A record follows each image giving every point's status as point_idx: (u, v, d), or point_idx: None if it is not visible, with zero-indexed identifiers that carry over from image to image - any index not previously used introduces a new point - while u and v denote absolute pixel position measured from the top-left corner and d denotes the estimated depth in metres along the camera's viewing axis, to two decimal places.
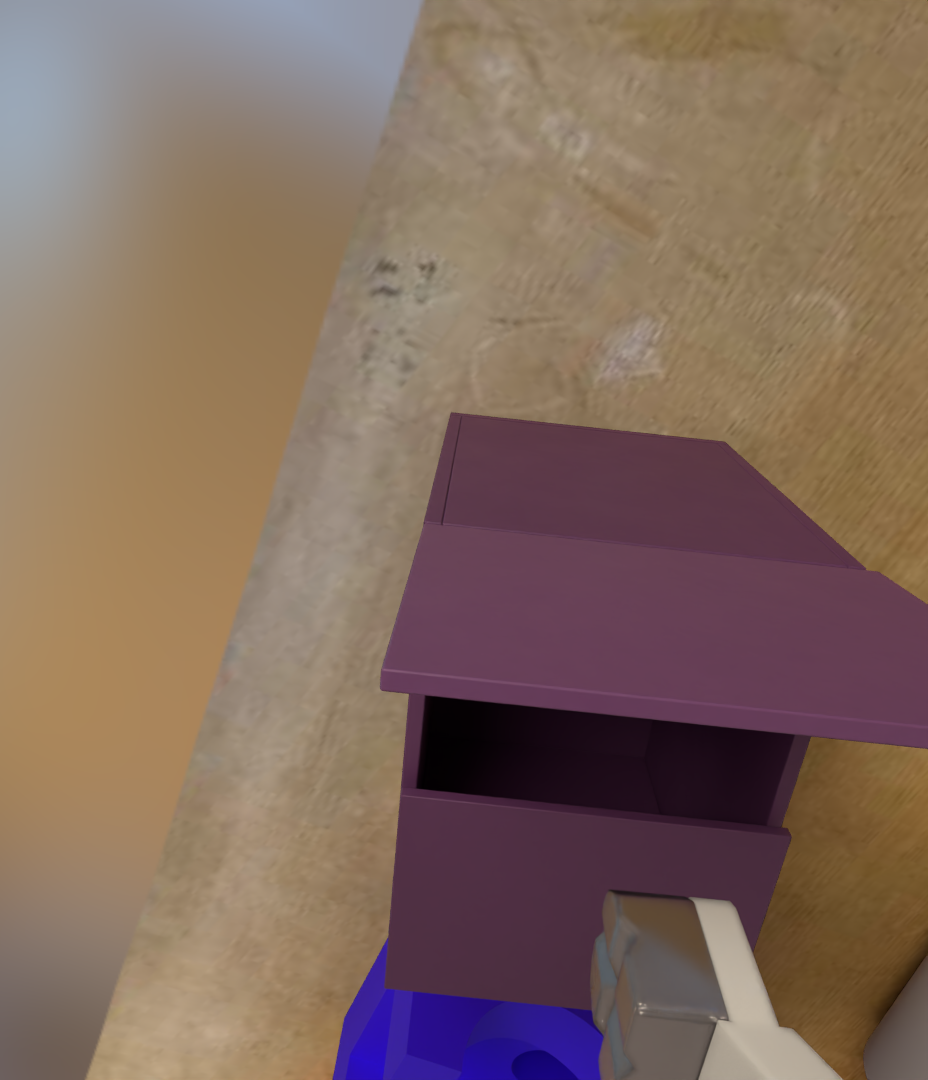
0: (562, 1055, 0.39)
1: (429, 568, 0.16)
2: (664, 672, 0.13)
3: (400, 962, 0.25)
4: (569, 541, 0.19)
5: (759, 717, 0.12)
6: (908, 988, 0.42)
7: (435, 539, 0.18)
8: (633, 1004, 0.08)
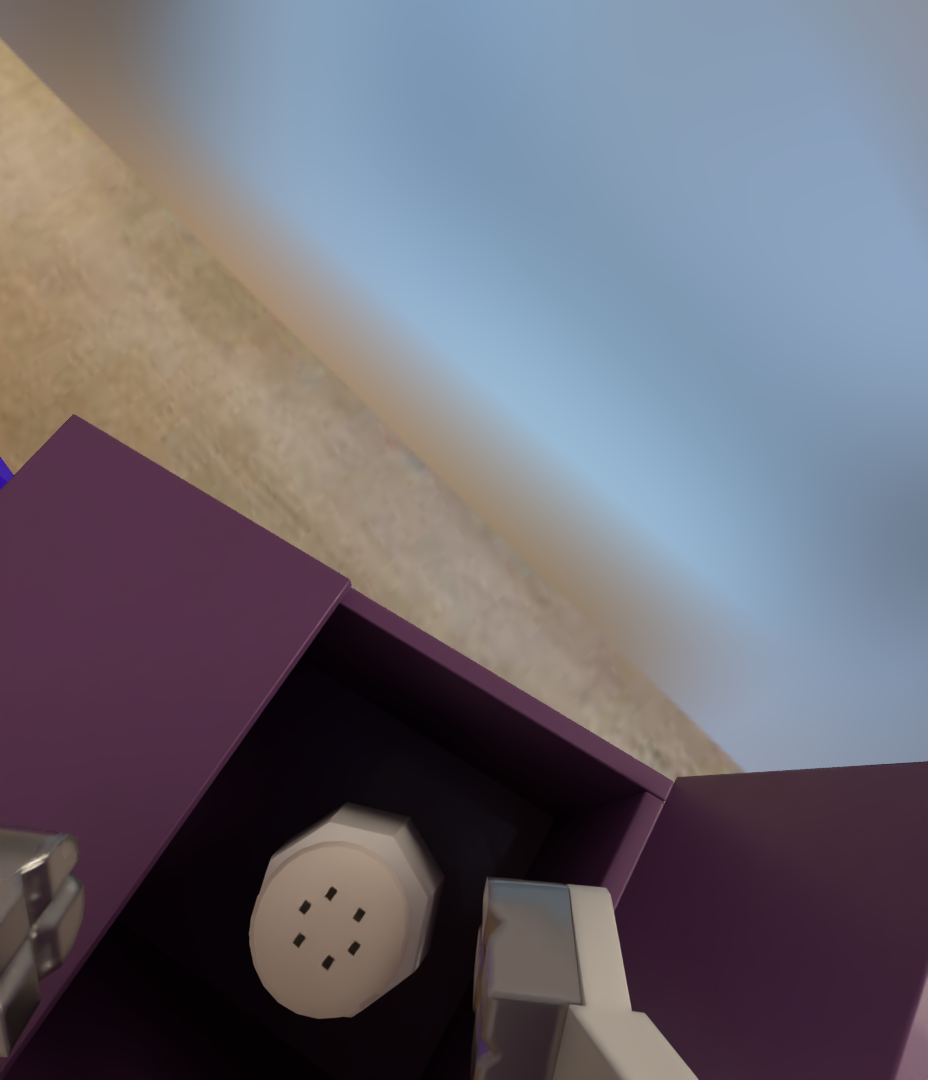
0: None
1: None
2: None
3: (102, 452, 0.19)
4: None
5: None
6: None
7: None
8: (487, 988, 0.08)
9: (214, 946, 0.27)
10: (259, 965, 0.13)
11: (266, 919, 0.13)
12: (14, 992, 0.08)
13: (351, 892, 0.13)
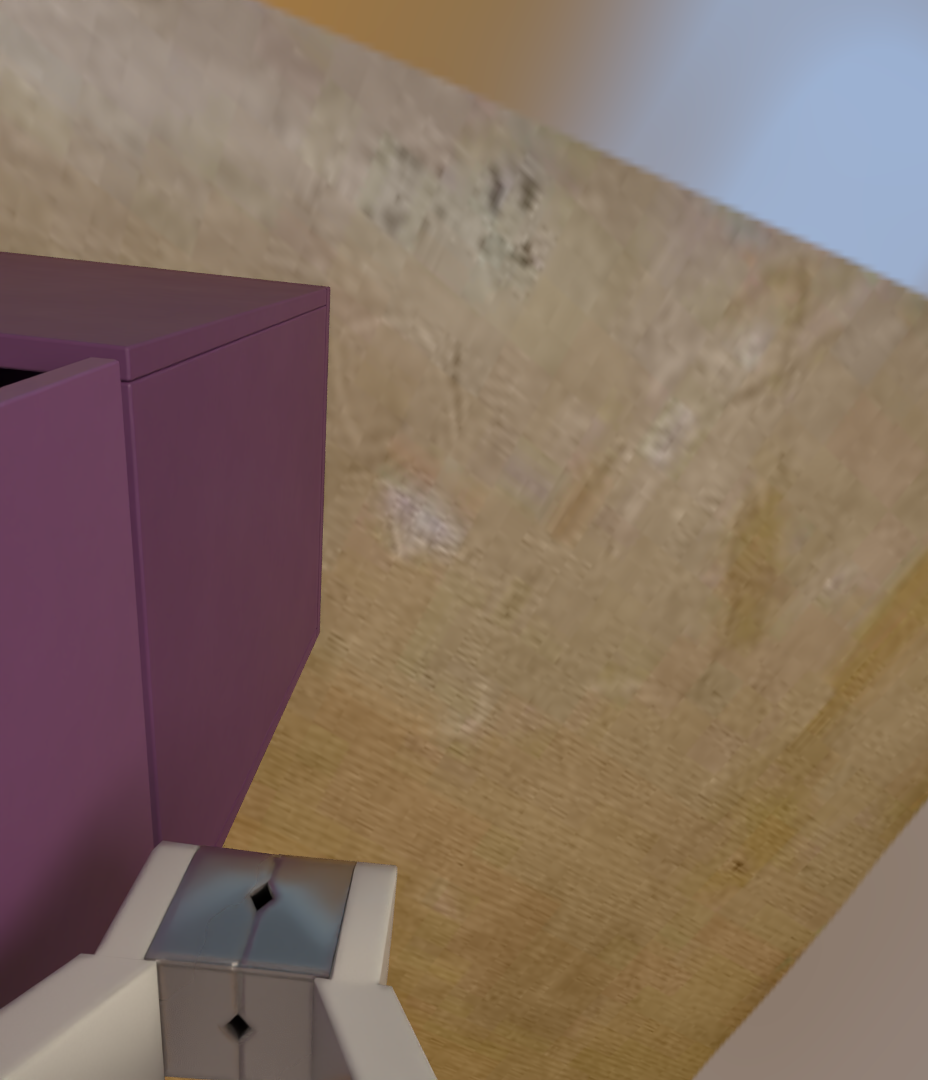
0: None
1: None
2: None
3: None
4: (130, 624, 0.11)
5: None
6: None
7: (73, 411, 0.09)
8: (237, 963, 0.08)
9: None
10: None
11: None
12: None
13: None
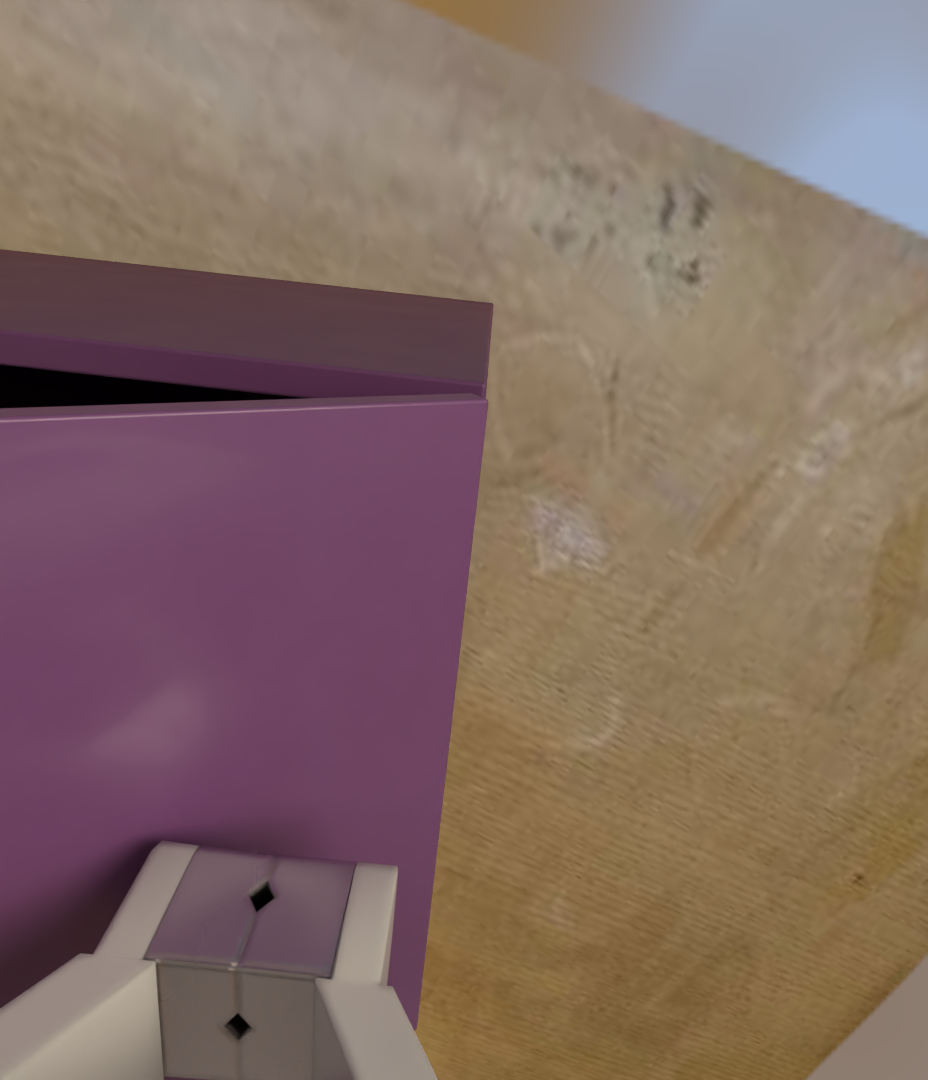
0: None
1: (215, 447, 0.08)
2: None
3: None
4: (444, 657, 0.11)
5: None
6: None
7: (395, 434, 0.09)
8: (239, 962, 0.08)
9: None
10: None
11: None
12: None
13: None
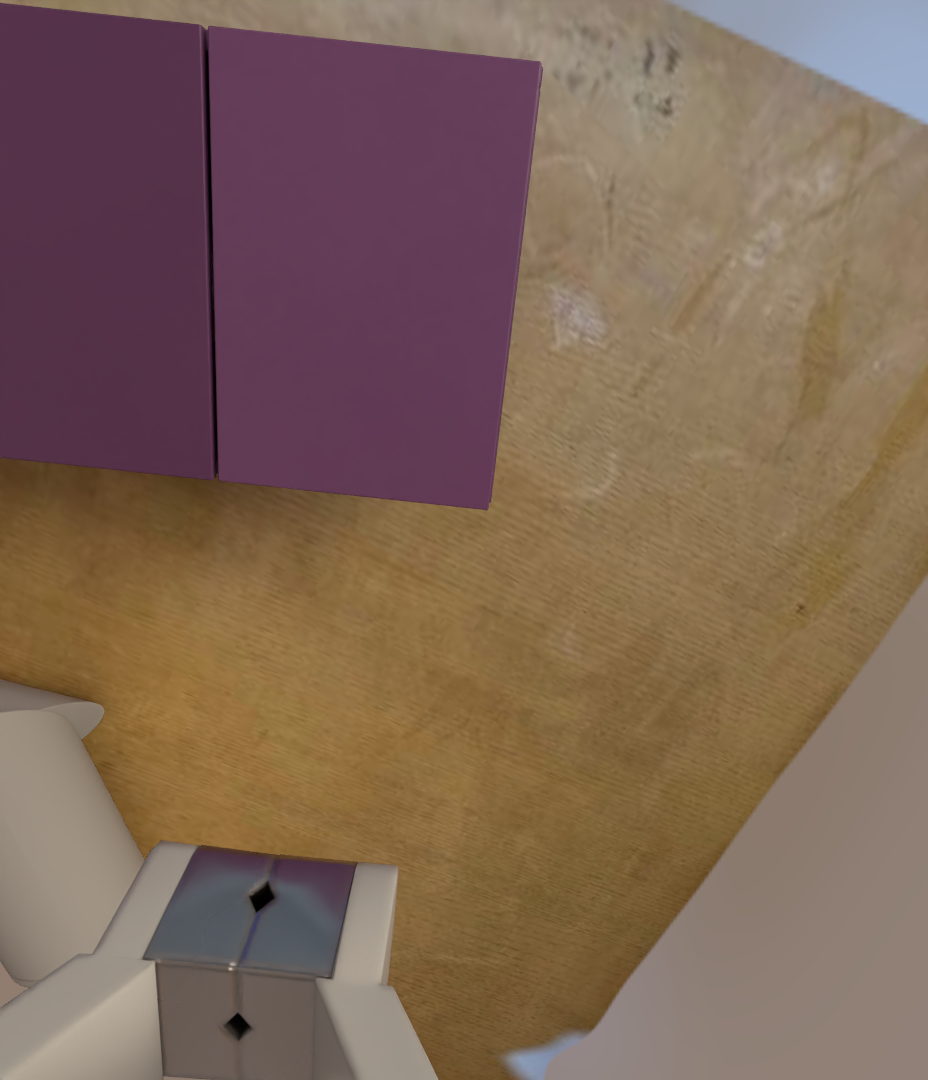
0: None
1: (400, 64, 0.19)
2: (245, 228, 0.20)
3: None
4: (511, 224, 0.20)
5: (215, 275, 0.21)
6: None
7: (485, 73, 0.19)
8: (240, 962, 0.08)
9: None
10: None
11: None
12: None
13: None
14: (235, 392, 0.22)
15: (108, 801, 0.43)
